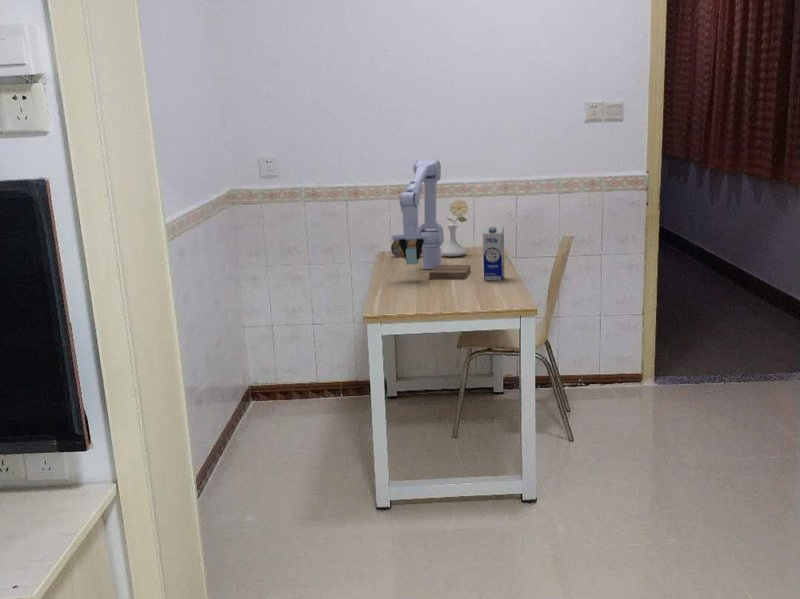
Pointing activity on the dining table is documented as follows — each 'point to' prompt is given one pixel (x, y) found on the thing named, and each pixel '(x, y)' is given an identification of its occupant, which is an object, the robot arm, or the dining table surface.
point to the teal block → (411, 256)
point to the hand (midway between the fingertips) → (412, 258)
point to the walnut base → (450, 272)
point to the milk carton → (493, 252)
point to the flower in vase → (453, 247)
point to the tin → (398, 250)
